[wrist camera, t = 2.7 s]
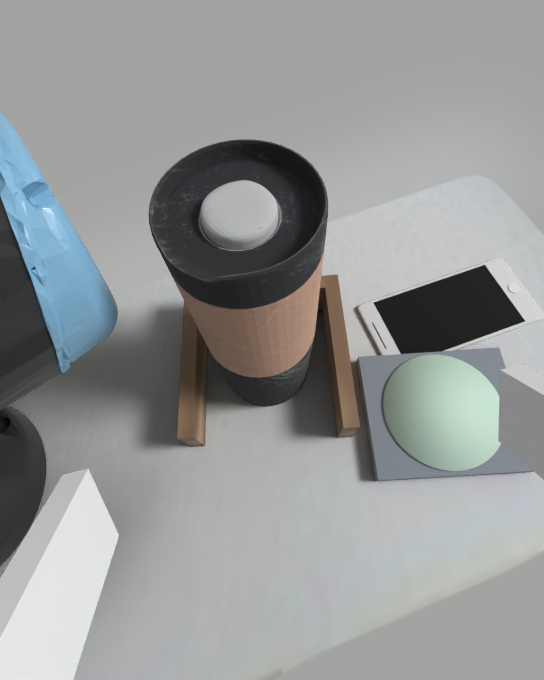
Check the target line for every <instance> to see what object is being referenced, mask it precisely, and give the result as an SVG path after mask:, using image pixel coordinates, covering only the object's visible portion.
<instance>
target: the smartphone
mask: <svg viewBox="0 0 544 680" xmlns="http://www.w3.org/2000/svg"><path fill="white" fill-rule="evenodd" d="M358 312H359V314H360V316H361V318H362V320H363V322H364V324H365V326H366V327H367V329H368V331H369V333H370V335H371V337H372V339H373V341H374V343H375V345H376V347H377V349H378V351H379V353H380V355H395V354H410V353H425V352H440V351H455V350H459V349H461V348H464V347H467V346H470V345H473V344H475V343H478V342H481V341H484V340H486V339H489V338H492V337H495V336H498V335H500V334H503V333H506V332H509V331H511V330H514V329H517V328H520V327H522V326H525V325H528V324H531V323H534V322H536V321H539V320H540V319H542V318H543V317H544V313H543V312H542V310H541V309H540V308H539V306H538V305H537V304H536V302H535V301H534V300H533V298H532V297H531V296H530V294H529V293H528V292H527V290H526V289H525V288H524V286H523V285H522V284H521V282H520V281H519V280H518V278H517V277H516V276H515V274H514V273H513V272H512V270H511V269H510V268H509V266H508V265H507V264H506V262H505V261H504V260H503V259H502V258H497V259H493V260H490V261H487V262H484V263H481V264H478V265H476V266H473V267H470V268H467V269H464V270H461V271H458V272H455V273H452V274H449V275H446V276H443V277H440V278H437V279H434V280H431V281H428V282H425V283H422V284H420V285H417V286H414V287H411V288H408V289H405V290H402V291H399V292H396V293H393V294H390V295H387V296H384V297H381V298H378V299H375V300H372V301H369V302H366V303H364V304H361V305H360V306H359V307H358Z"/></svg>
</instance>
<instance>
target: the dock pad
mask: <svg viewBox="0 0 544 680" xmlns="http://www.w3.org/2000/svg"><path fill="white" fill-rule="evenodd" d="M356 363H357V369H358V375H359V382H360V388H361V394H362V401H363V407H364V414H365V420H366V426H367V433H368V439H369V445H370V452H371V458H372V465H373V471H374V477H375V481H385V480H402V479H419V478H436V477H453V476H470V475H487V474H504V473H521V472H533V470H532V469H531V468H530V467H528V466H527V465H526V464H525V463H524V462H523V461H521V460H520V459H519V458H518V457H517V456H515V455H514V454H513V453H512V452H511V451H510V450H508V449H507V448H506V447H505V446H504V445H503V444H501V443H500V442H499V441H498V430H499V395H500V370H501V369H505V365H504V362H503V359H502V356H501V353H500V350H499V348H485V349H470V350H455V351H440V352H425V353H410V354H395V355H380V356H365V357H358V359H357V362H356Z"/></svg>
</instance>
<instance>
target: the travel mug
mask: <svg viewBox="0 0 544 680" xmlns="http://www.w3.org/2000/svg"><path fill="white" fill-rule="evenodd" d="M327 218H328V198H327V192H326V188H325V186H324V183H323V180H322V179H321V177H320V175H319V173H318V172H317V171H316V169H315V168H314V167H313V165H312V164H310V163H309V162H308V161H307V160H306V159H305V158H304V157H302V156H301V155H300V154H298V153H296V152H294V151H293V150H291V149H289V148H286V147H284V146H282V145H278V144H275V143H271V142H266V141H260V140H230V141H225V142H219V143H216V144H212V145H209V146H206V147H204V148H201V149H198V150H197V151H194V152H193V153H190V154H189V155H187V156H185V157H184V158H182V159H181V160H179V161H178V162H177V163H176V164H174V165H173V166H172V167H171V168H170V169H169V170H168V171H167V172H166V173H165V174H164V176H163V177H162V178H161V179H160V181H159V183H158V184H157V186H156V188H155V190H154V192H153V195H152V198H151V201H150V207H149V224H150V228H151V232H152V236H153V238H154V241H155V243H156V245H157V247H158V249H159V251H160V253H161V255H162V257H163V259H164V261H165V263H166V265H167V267H168V269H169V271H170V273H171V275H172V277H173V279H174V281H175V283H176V285H177V287H178V289H179V291H180V293H181V295H182V297H183V299H184V301H185V303H186V305H187V307H188V309H189V311H190V313H191V315H192V317H193V319H194V321H195V323H196V325H197V327H198V329H199V331H200V333H201V335H202V337H203V339H204V341H205V343H206V345H207V347H208V349H209V351H210V352H211V354H212V356H213V357H214V359H215V360H216V362H217V364H218V365H219V367H220V368H221V370H222V372H223V373H224V375H225V376H226V378H227V380H228V381H229V383H230V384H231V386H232V387H233V389H234V390H235V391H236V392H237V394H238V395H239V396H241V397H242V398H243V399H245V400H246V401H248V402H250V403H253V404H256V405H260V406H273V405H277V404H280V403H283V402H285V401H287V400H289V399H290V398H292V397H293V396H294V395H295V394H296V393H297V392H298V391H299V389H300V388H301V386H302V385H303V382H304V380H305V377H306V374H307V370H308V365H309V360H310V355H311V350H312V345H313V340H314V335H315V329H316V319H317V310H318V301H319V292H320V282H321V273H322V264H323V255H324V245H325V237H326V227H327Z"/></svg>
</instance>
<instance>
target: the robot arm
mask: <svg viewBox="0 0 544 680" xmlns="http://www.w3.org/2000/svg"><path fill="white" fill-rule="evenodd" d="M117 313H118V311H117V305H116V302H115V300H114V298H113V296H112V294H111V291H110V290H109V288H108V286H107V284H106V282H105V280H104V279H103V277H102V275H101V273H100V271H99V270H98V268H97V266H96V264H95V262H94V261H93V259H92V257H91V255H90V254H89V252H88V250H87V249H86V247H85V245H84V244H83V242H82V240H81V238H80V237H79V235H78V233H77V232H76V230H75V228H74V227H73V225H72V223H71V221H70V220H69V218H68V216H67V215H66V213H65V212H64V210H63V208H62V207H61V205H60V204H59V202H58V201H57V200H56V199H55V197H54V195H53V192H52V190H51V189H50V187H49V185H48V184H47V182H46V181H45V179H44V177H43V176H42V174H41V172H40V170H39V168H38V166H37V165H36V163H35V161H34V160H33V158H32V156H31V155H30V153H29V151H28V150H27V148H26V146H25V145H24V143H23V142H22V140H21V139H20V137H19V135H18V134H17V132H16V131H15V130H14V128H13V126H12V125H11V123H10V122H9V121H8V119H7V118H6V117H5V115H3V114H2V113H1V112H0V566H1V565H2V564H3V563H4V562H5V560H6V559H7V558H8V557H9V556H10V555H11V554H12V552H13V551H14V550H15V549H16V547H17V546H18V545H19V543H20V542H21V540H22V539H23V537H24V536H25V534H26V533H27V531H28V529H29V527H30V526H31V524H32V521H33V519H34V517H35V515H36V513H37V510H38V508H39V505H40V502H41V498H42V495H43V490H44V485H45V478H46V457H45V451H44V447H43V443H42V440H41V438H40V435H39V433H38V431H37V430H36V428H35V427H34V425H33V424H32V422H31V421H30V420H29V419H28V418H27V417H26V416H25V415H23V414H22V413H21V412H19V411H18V410H16V409H14V408H12V407H10V406H8V405H9V404H11V403H13V402H14V401H16V400H17V399H19V398H20V397H22V396H24V395H25V394H27V393H28V392H30V391H32V390H33V389H35V388H36V387H38V386H40V385H41V384H43V383H44V382H46V381H48V380H49V379H51V378H52V377H54V376H55V375H57V374H59V373H64V372H66V370H68V369H69V368H70V366H71V363H72V362H73V361H75V360H76V359H78V358H79V357H80V356H82V355H83V354H85V353H86V352H87V351H89V350H90V349H92V348H93V347H95V346H96V345H97V344H99V343H100V342H102V341H103V340H104V339H106V338H107V337H108V336H109V334H110V333H111V332H112V330H113V329H114V326H115V323H116V320H117ZM498 441H499V442H500V443H501V444H503V445H504V446H505V447H506V448H507V449H508V450H510V451H511V452H512V453H513V454H514V455H515V456H517V457H518V458H519V459H520V460H521V461H523V462H524V463H525V464H526V465H527V466H528V467H530V468H531V469H532V470H533V471H534V472H535V473H537V474H538V475H539V476H540V477H541V478H543V479H544V375H543V374H541V373H539V372H537V371H535V370H533V369H531V368H529V367H527V366H525V365H523V364H522V365H518V366H514V367H509V368H505V369H501V370H500V395H499V430H498ZM118 537H119V534H118V532H117V530H116V528H115V525H114V523H113V521H112V519H111V517H110V515H109V513H108V510H107V508H106V506H105V504H104V502H103V500H102V497H101V495H100V493H99V491H98V489H97V487H96V484H95V482H94V480H93V478H92V476H91V474H90V471H89V469H84V470H80V471H76V472H72V473H67V474H63V475H62V477H61V478H60V480H59V482H58V483H57V485H56V486H55V488H54V490H53V491H52V493H51V495H50V496H49V498H48V500H47V501H46V503H45V505H44V506H43V508H42V510H41V511H40V513H39V515H38V516H37V518H36V520H35V521H34V523H33V525H32V526H31V528H30V530H29V531H28V533H27V535H26V536H25V538H24V540H23V541H22V543H21V545H20V546H19V548H18V550H17V551H16V553H15V554H14V556H13V558H12V559H11V561H10V563H9V564H8V566H7V568H6V569H5V571H4V573H3V574H2V576H1V578H0V680H73V678H74V675H75V672H76V669H77V666H78V663H79V660H80V656H81V653H82V650H83V647H84V644H85V641H86V638H87V634H88V631H89V628H90V625H91V622H92V619H93V616H94V613H95V609H96V606H97V603H98V600H99V597H100V594H101V591H102V587H103V584H104V581H105V578H106V575H107V572H108V569H109V566H110V562H111V559H112V556H113V553H114V550H115V547H116V544H117V540H118Z"/></svg>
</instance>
